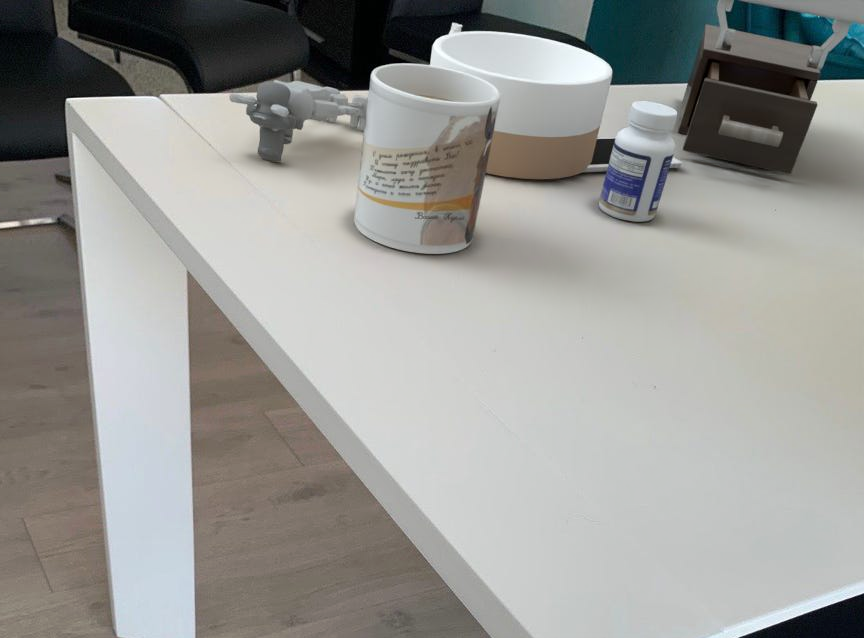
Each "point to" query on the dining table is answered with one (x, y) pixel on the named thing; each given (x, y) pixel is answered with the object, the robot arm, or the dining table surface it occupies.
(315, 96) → the figurine
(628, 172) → the pill bottle
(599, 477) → the dining table surface
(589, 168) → the cell phone
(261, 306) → the dining table surface
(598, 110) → the bowl
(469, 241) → the mug
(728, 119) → the drawer
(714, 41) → the cabinet
